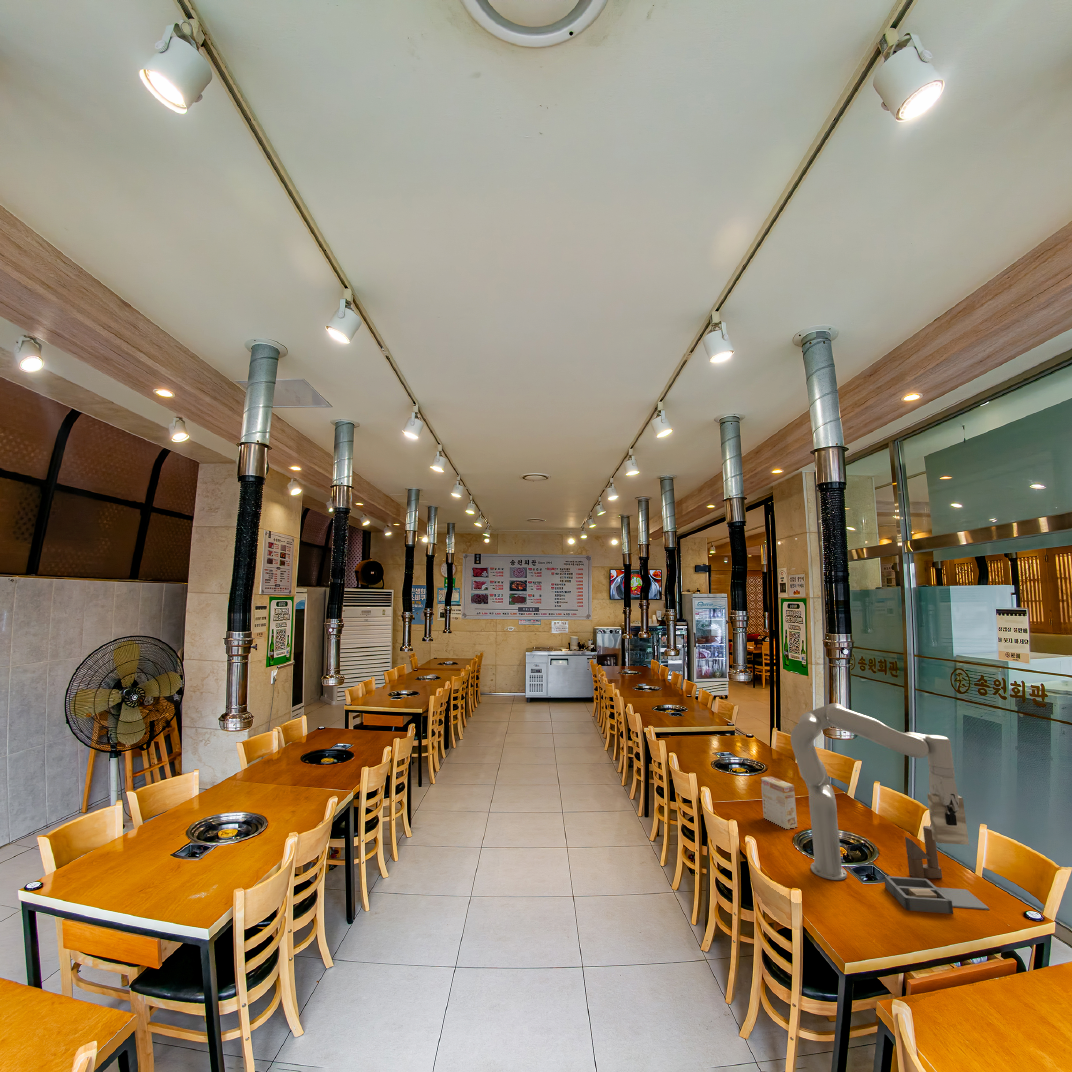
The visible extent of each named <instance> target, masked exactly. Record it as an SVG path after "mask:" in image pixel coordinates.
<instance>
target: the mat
mask: <svg viewBox="0 0 1072 1072" xmlns="http://www.w3.org/2000/svg"><path fill="white" fill-rule="evenodd" d="M936 887H937V886H936ZM937 888H938V889H939V890H940V891H941V892H942V893H943V894H944V895H946V896H947V897H948V898H949V899H950V900H951V901H952V907H953V908H962V909H975V910H986V911H987V910H990V908H989V907H988V906H987V905H986V904H985V903H983V902H982V901H981V900H980V899H978V897H976V896H975V895H974V894H972V893H971V892H970V891H969V890H968V889H965V888H950V887H937Z"/></svg>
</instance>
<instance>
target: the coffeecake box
mask: <svg viewBox="0 0 1072 1072" xmlns="http://www.w3.org/2000/svg"><path fill="white" fill-rule="evenodd" d="M760 784H761V785H760V787H761V797H762V798H761V800H762V813H763V814H762V815H763V819H764V818H765V819H764V820H766V819H767V820H766V821H768V820H769V822H770V821H771V823H772V822H773V823H772V824H774V823H775V824H774V825H776V824H777V825H776V826H778V825H779V827H780V826H781V828H782V827H783V828H782V829H784V828H785V830H786V829H788V830H791V829H790V828H794V829H796V828H795V827H798V822H797V821H798V819H797V810H796V809H797V808H796V807H797V806H796V796H795V794H796V793H795V785H794V784H791V783H789V782H786V781H784V780H782V779H779V778H777V777H774V776H764V777H760Z"/></svg>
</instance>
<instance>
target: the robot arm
mask: <svg viewBox="0 0 1072 1072" xmlns="http://www.w3.org/2000/svg"><path fill="white" fill-rule="evenodd" d="M831 727H835V728H837V729H838V730H839V729H840V730H842V731H845V732H848V733H850V734H853V735H856V736H859V737H862V738H864V739H866V740H869V741H871V742H873V743H875V744H878V745H880V746H882V747H886V748H887V749H889V750H892V751H893V752H897V753H899V754H902V755H905V756H908V757H911V758H913V759H914V758H915V759H924V758H925V757H926V758H927V763H928V771H929V772H928V785H929V786H928V789H929V794H935V795H937V796H938V797H939V800H940V803H941V804H942V805H945V809H946V813H945V817H946V824H947V825H954V826H956V825H957V821H956V812H957V811H958V810H959V808H958V805H959V799H958V796H959V793H958V792H959V791H958V788H957V784H956V780H955V777H956V774H955V767H954V759H953V751H952V746H951V745H952V744H951V740H950V739H949V738H948V737H947V736H945V735H939V734H923V733H918V732H914V731H906V732H902V731H898V730H896V729H894V728H891V727H890V726H888V725H886V724H884V723H883V722H881V721H880V720H877V719H876V718H874V717H871V716H868V715H865V714H862V713H859V712H856V711H853V710H851V709H848V708H846V707H845V706H844V705H843V704H840V703H836V702H834V703H832V702H831V703H829V704H826V705H824V706H821V707H818V708H815V709H813V710H809V711H807V712H804V713H802V715H800V717H799V719H798V723H797V724H796V725H795V726H794V727H793V729H792V730H791V734H790V745H791V747H792V751H793V754H794V757H795V762H796V763H797V767H798V770H799V773H800V777H801V778H802V780H803V781H804V783H805V784H806V785H805V786H806V788H807V791H808V805H809V806H808V807H809V815H810V825H811V838H812V846H813V849H812V850H813V859H814V862H812V863H811V864H810V870H811V872H813V873H814V874H815V875H816V876H818V877H821V878H823V879H827V880H831V881H843V880H845V879H847V877H848V873H847V870H845V869H844V867H842V857H841V846H840V845H841V844H840V834H839V825H838V823H839V822H838V809H837V800H836V796H835V791H834V789H833V786H832V783H831V781H830V777H829V775H828V771H827V769H826V767H825V765H824V763H823V761H822V760H821V759H820V758H819V756H818V752H817V750H816V748H815V744H814V742H815V740H816V739H817V737H819V736H820V735H821V733H822V731H823V730H825V729H829V728H831ZM950 803H951V804H950ZM949 807H952V808H949Z"/></svg>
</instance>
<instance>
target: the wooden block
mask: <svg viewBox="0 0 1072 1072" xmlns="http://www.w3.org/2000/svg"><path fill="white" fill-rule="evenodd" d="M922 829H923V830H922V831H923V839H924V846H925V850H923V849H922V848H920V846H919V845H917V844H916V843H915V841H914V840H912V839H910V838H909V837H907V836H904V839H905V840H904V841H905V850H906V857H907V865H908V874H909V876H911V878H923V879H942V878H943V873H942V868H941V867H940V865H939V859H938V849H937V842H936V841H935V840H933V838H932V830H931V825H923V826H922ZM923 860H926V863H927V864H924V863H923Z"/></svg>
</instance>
